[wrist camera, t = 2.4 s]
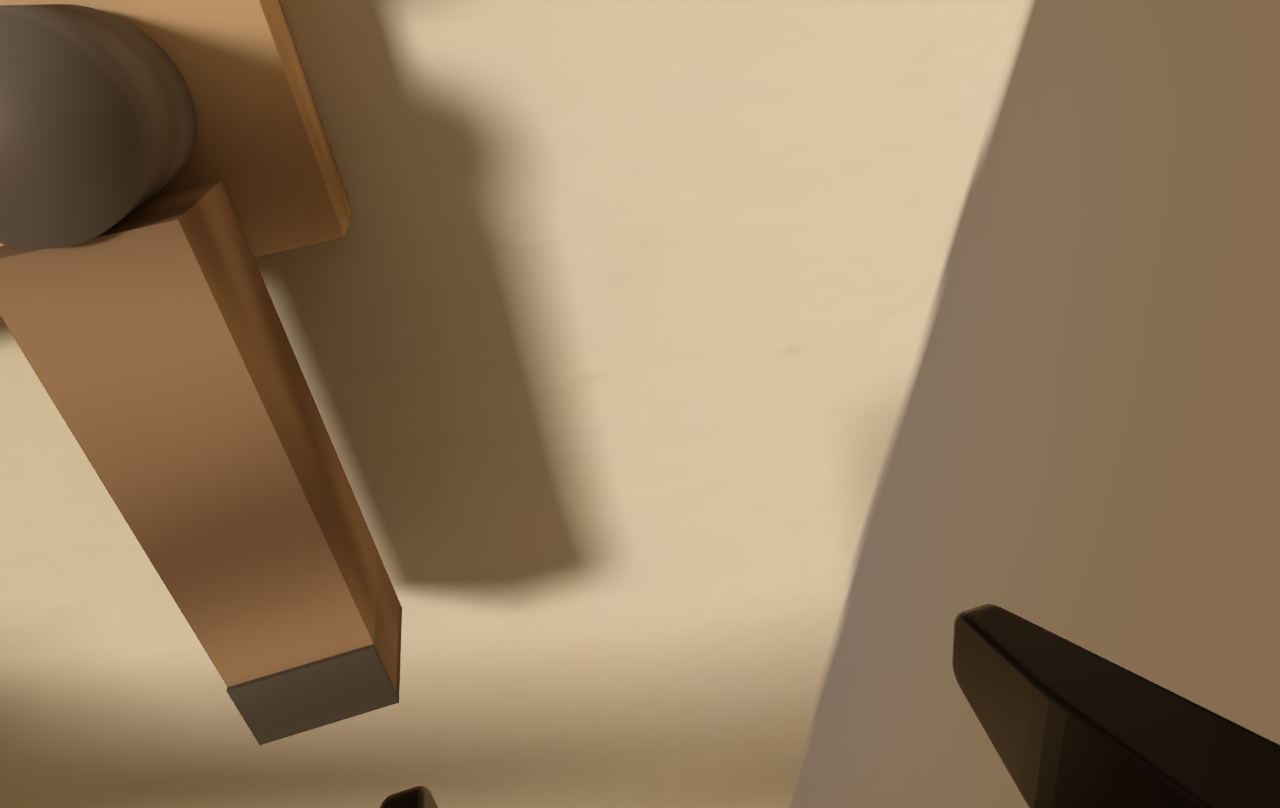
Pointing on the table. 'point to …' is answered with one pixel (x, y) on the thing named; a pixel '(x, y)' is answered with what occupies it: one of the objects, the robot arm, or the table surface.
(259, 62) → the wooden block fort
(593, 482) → the table surface
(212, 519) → the leg
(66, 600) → the table surface
